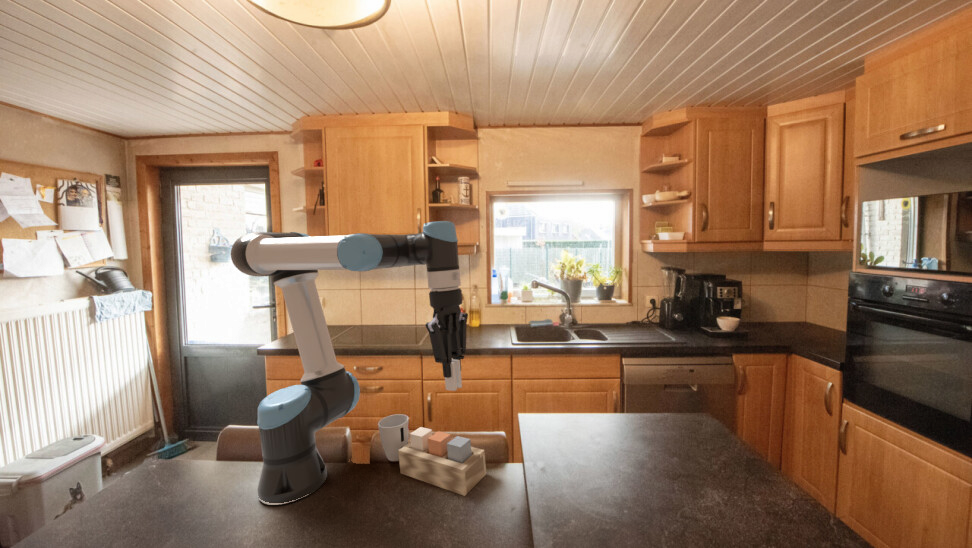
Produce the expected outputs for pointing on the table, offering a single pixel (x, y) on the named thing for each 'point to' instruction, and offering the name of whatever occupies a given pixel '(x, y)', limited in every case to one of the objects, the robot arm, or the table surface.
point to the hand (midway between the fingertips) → (453, 388)
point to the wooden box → (443, 469)
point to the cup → (394, 434)
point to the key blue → (459, 449)
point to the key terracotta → (439, 444)
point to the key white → (420, 439)
